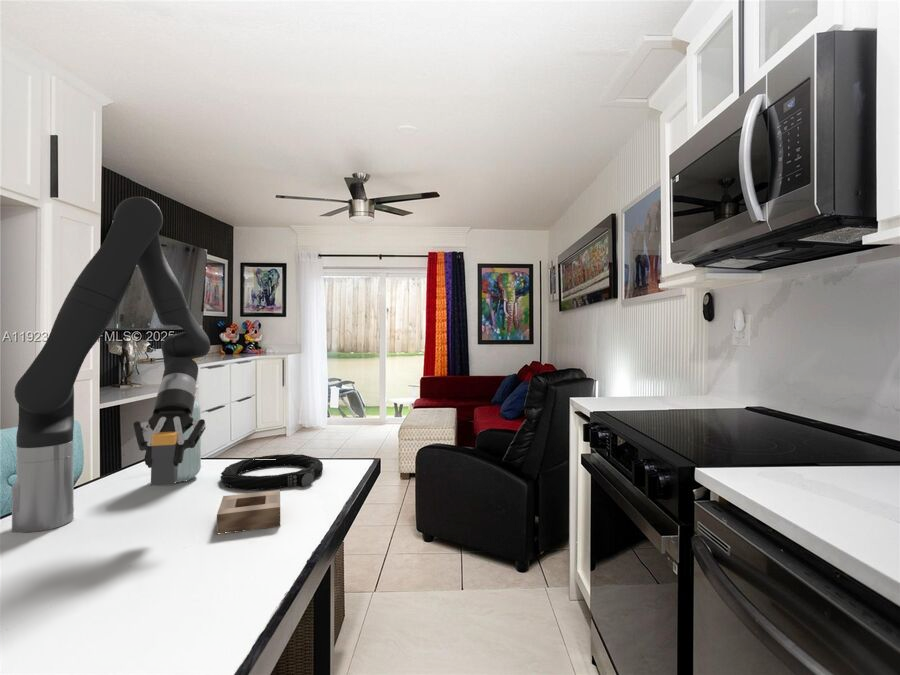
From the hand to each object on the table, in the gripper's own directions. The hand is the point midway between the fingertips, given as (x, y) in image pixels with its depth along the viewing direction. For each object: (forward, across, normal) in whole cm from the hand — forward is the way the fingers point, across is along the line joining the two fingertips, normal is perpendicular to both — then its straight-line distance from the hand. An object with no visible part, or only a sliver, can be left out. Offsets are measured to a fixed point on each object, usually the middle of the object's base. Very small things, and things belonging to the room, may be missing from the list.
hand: (162, 464), depth 96 cm
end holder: (+8, +17, +11) cm, 21 cm away
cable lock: (-15, +22, +34) cm, 43 cm away
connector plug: (+2, 0, +4) cm, 5 cm away
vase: (-20, -4, +40) cm, 44 cm away
